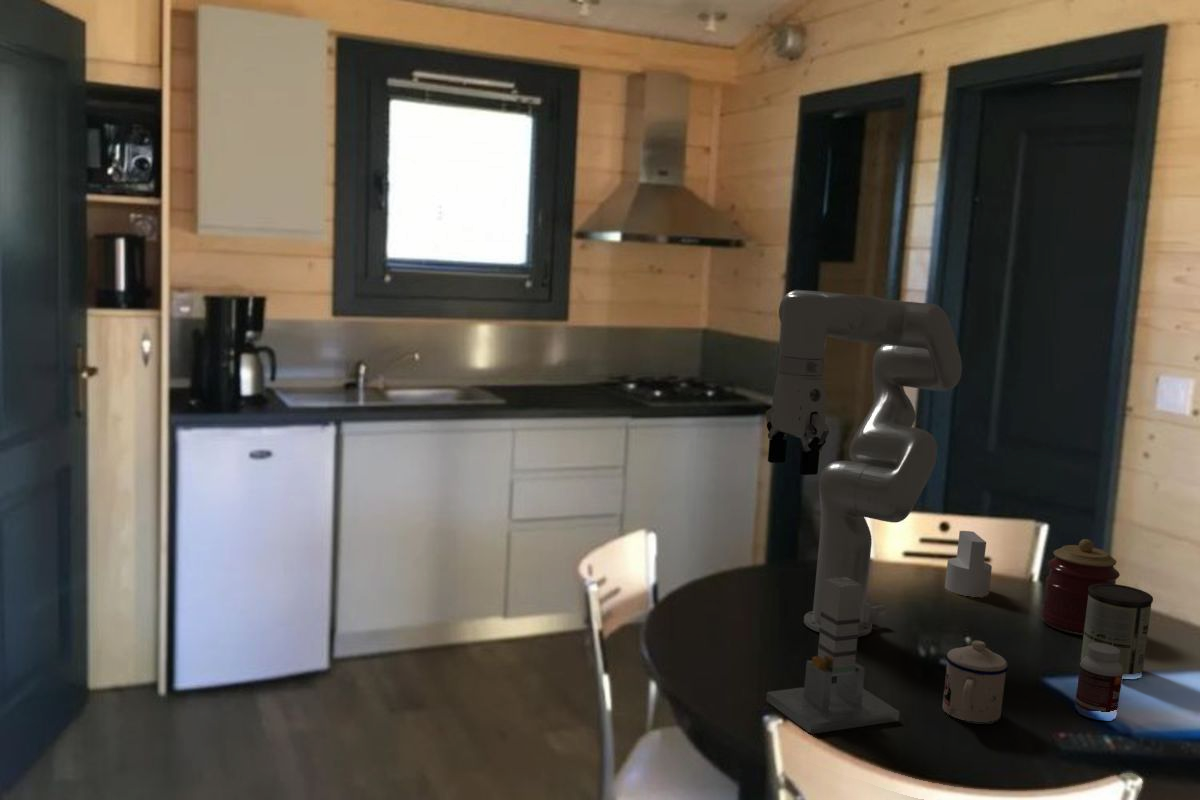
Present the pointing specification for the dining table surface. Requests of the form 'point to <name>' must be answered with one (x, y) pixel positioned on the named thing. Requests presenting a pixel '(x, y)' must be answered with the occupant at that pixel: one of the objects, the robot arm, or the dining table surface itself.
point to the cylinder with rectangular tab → (969, 567)
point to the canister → (1074, 583)
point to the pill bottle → (1099, 679)
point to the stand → (831, 701)
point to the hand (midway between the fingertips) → (792, 468)
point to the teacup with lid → (974, 683)
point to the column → (840, 625)
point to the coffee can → (1118, 622)
